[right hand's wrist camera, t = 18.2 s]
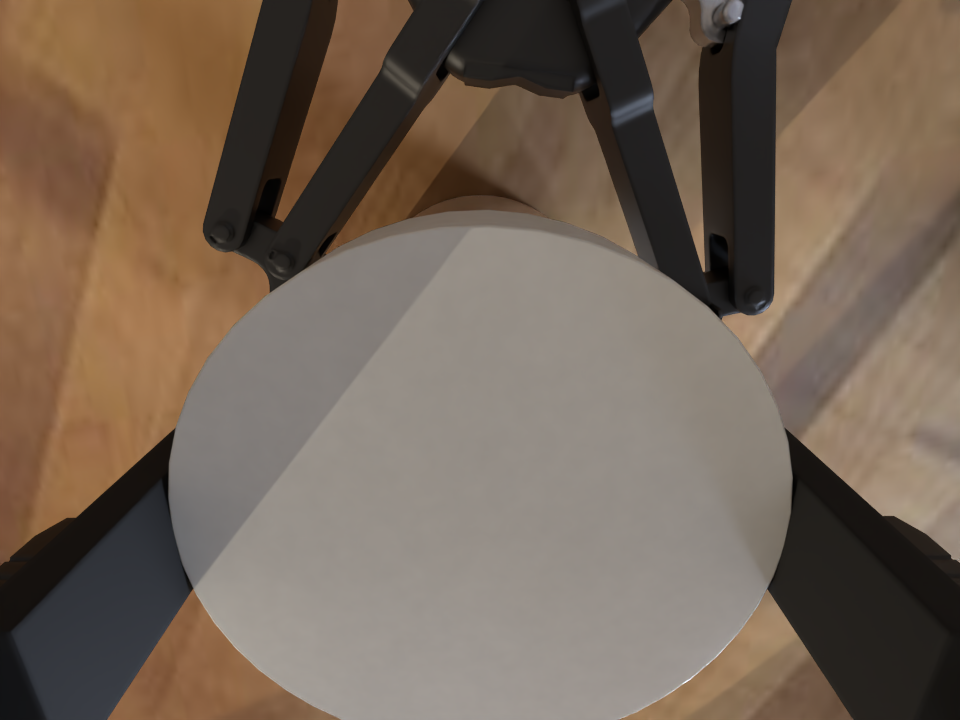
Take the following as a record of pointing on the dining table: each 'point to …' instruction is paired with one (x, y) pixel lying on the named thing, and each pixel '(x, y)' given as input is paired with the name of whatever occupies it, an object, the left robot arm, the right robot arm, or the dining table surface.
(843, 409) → the dining table surface
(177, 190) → the dining table surface
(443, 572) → the lid
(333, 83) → the dining table surface
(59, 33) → the dining table surface
